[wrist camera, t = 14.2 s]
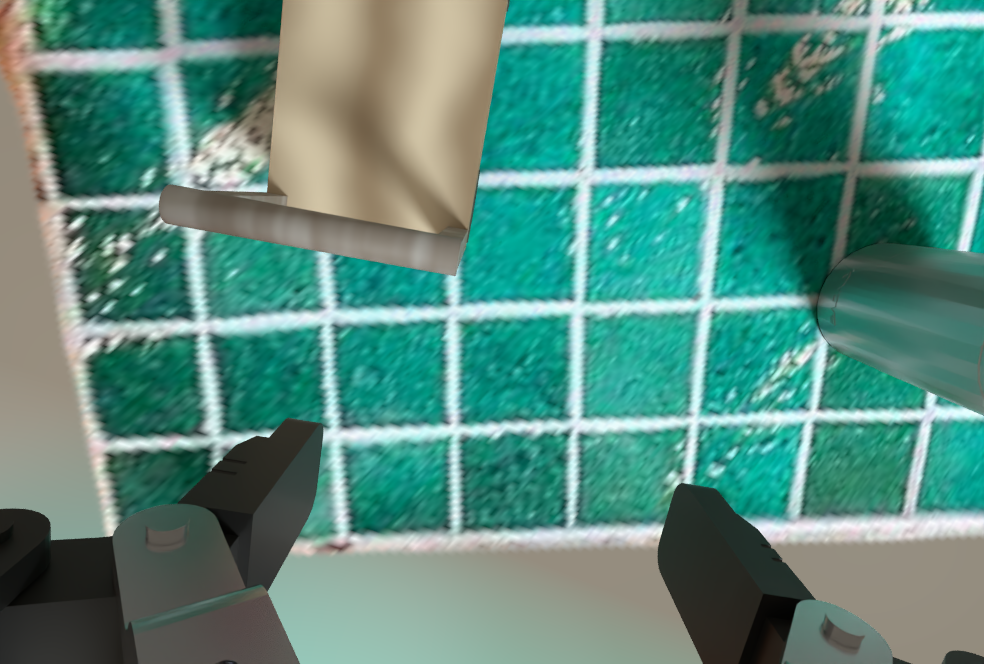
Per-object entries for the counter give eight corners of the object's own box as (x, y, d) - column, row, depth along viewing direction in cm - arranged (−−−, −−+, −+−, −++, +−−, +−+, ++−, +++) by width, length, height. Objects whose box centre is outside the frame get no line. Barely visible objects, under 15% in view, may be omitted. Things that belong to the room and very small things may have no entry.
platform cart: (520, -61, 36) (557, -331, 17) (467, 242, 40) (454, 278, 22) (339, -100, 35) (182, -424, 17) (307, 213, 40) (158, 224, 21)
